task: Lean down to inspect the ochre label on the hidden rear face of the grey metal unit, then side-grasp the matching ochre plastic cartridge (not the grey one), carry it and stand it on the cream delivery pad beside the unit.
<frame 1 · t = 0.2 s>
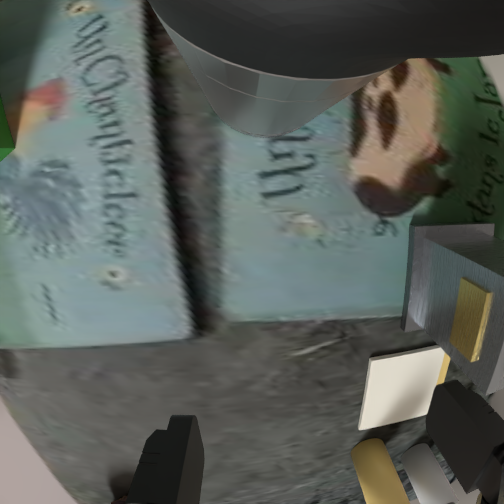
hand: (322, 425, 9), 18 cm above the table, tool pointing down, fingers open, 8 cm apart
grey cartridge: (414, 453, 34), on the table
pad: (405, 387, 31), on the table
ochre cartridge: (367, 449, 33), on the table
rock: (136, 500, 36), on the table
unit: (448, 273, 27), on the table
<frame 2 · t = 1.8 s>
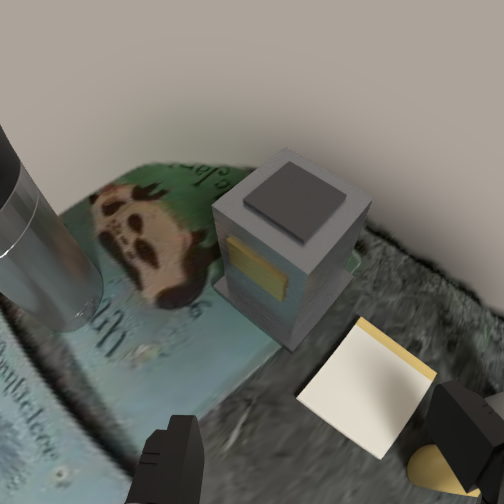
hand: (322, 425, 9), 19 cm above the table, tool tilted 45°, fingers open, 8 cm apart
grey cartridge: (488, 416, 23), on the table
pad: (370, 388, 27), on the table
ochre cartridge: (426, 465, 22), on the table
unit: (284, 286, 33), on the table
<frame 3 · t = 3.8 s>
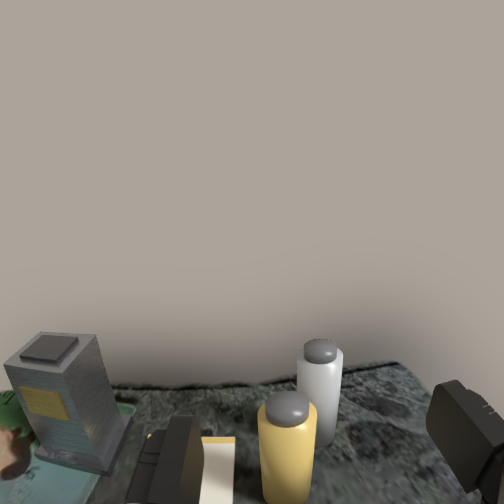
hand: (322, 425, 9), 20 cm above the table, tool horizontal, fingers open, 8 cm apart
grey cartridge: (315, 434, 32), on the table
pad: (185, 471, 27), on the table
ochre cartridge: (286, 492, 24), on the table
unit: (86, 440, 30), on the table
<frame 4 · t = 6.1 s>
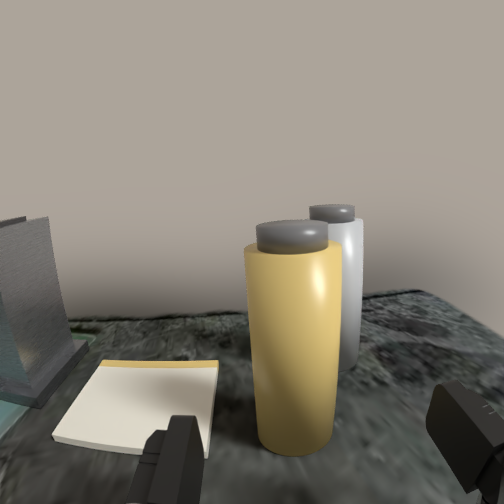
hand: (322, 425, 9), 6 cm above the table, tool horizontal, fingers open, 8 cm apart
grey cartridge: (330, 357, 25), on the table
pad: (143, 404, 20), on the table
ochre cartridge: (295, 430, 17), on the table
unit: (26, 370, 23), on the table
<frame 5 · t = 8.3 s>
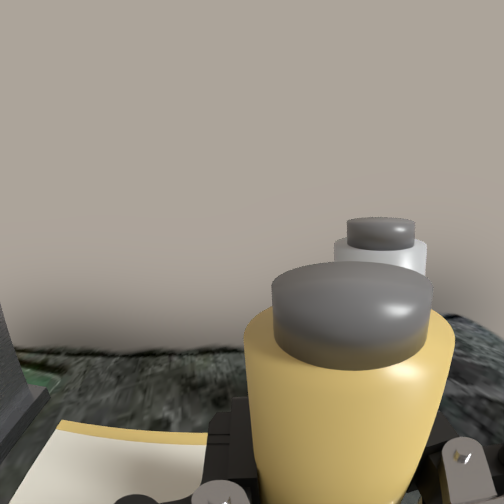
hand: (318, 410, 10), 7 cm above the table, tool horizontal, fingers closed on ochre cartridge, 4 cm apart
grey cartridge: (363, 425, 16), on the table
pad: (107, 495, 12), on the table
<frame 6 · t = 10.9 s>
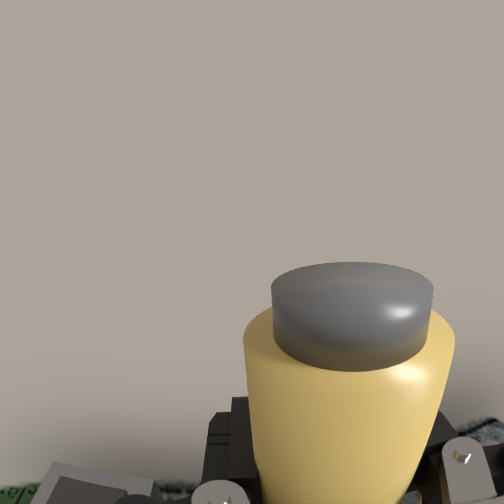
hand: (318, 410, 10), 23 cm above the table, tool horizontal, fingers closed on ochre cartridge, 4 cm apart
when the fingers open (8 cm above the table, at t = 13.9 s): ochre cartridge drops 1 cm, resting on pad.
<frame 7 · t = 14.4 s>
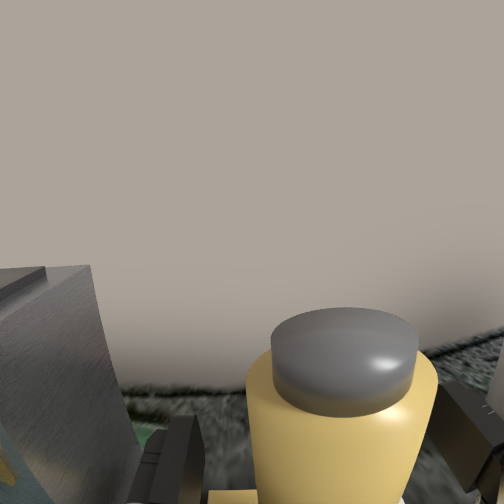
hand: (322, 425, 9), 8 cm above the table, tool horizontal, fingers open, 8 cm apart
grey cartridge: (500, 433, 14), on the table
unit: (73, 502, 12), on the table
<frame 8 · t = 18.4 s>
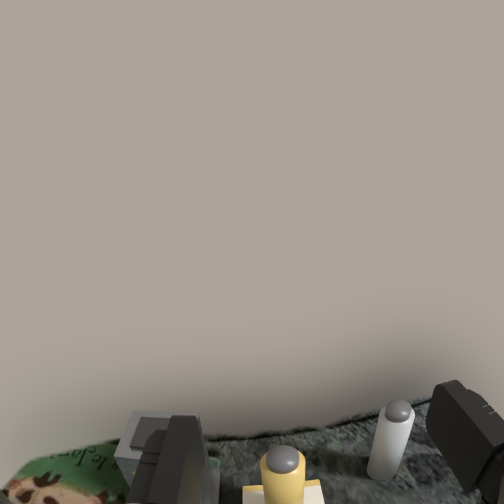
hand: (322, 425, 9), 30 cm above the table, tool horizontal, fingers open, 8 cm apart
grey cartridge: (381, 469, 34), on the table
unit: (181, 498, 32), on the table
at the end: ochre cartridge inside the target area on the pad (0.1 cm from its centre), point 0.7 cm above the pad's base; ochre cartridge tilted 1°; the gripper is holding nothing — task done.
